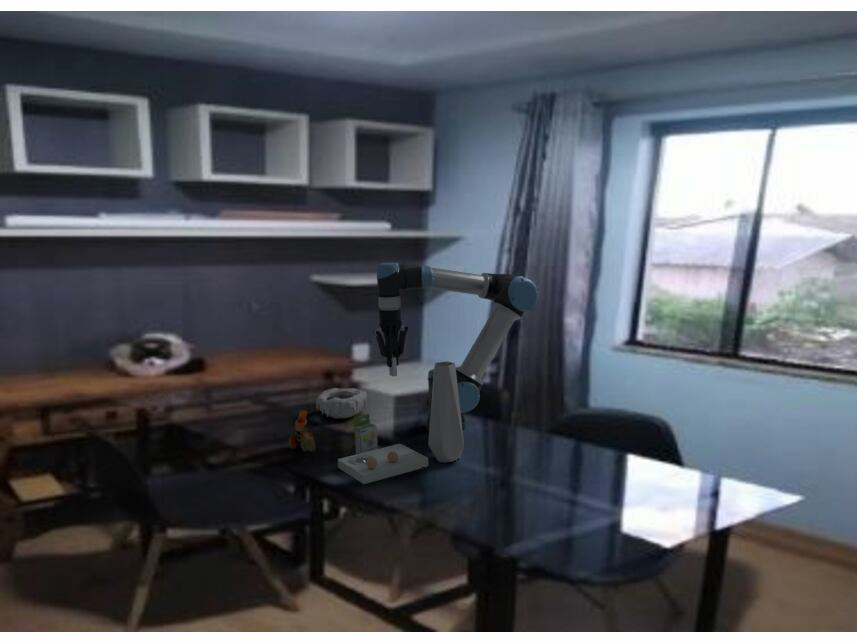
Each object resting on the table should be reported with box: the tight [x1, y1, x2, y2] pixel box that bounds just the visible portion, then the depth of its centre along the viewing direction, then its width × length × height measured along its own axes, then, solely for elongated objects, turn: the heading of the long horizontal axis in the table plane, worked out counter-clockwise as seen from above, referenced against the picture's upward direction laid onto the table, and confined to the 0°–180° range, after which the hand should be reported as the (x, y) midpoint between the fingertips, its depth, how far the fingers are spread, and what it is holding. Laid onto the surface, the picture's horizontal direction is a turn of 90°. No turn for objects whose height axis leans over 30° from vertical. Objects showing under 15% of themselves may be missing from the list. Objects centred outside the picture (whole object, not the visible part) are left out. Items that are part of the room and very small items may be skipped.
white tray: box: [337, 443, 429, 485], centre depth 257 cm, size 24×18×3 cm
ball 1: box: [366, 457, 377, 469], centre depth 248 cm, size 4×4×4 cm
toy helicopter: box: [288, 409, 317, 452], centre depth 272 cm, size 8×21×14 cm, turn 24°
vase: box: [428, 360, 465, 463], centre depth 258 cm, size 12×12×33 cm
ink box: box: [353, 413, 379, 455], centre depth 269 cm, size 7×4×13 cm, turn 131°
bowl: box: [315, 387, 368, 420], centre depth 314 cm, size 21×20×10 cm
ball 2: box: [387, 451, 398, 462], centre depth 252 cm, size 4×4×4 cm
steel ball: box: [357, 459, 366, 463], centre depth 256 cm, size 4×4×4 cm
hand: (393, 375), depth 270 cm, fingers closed
